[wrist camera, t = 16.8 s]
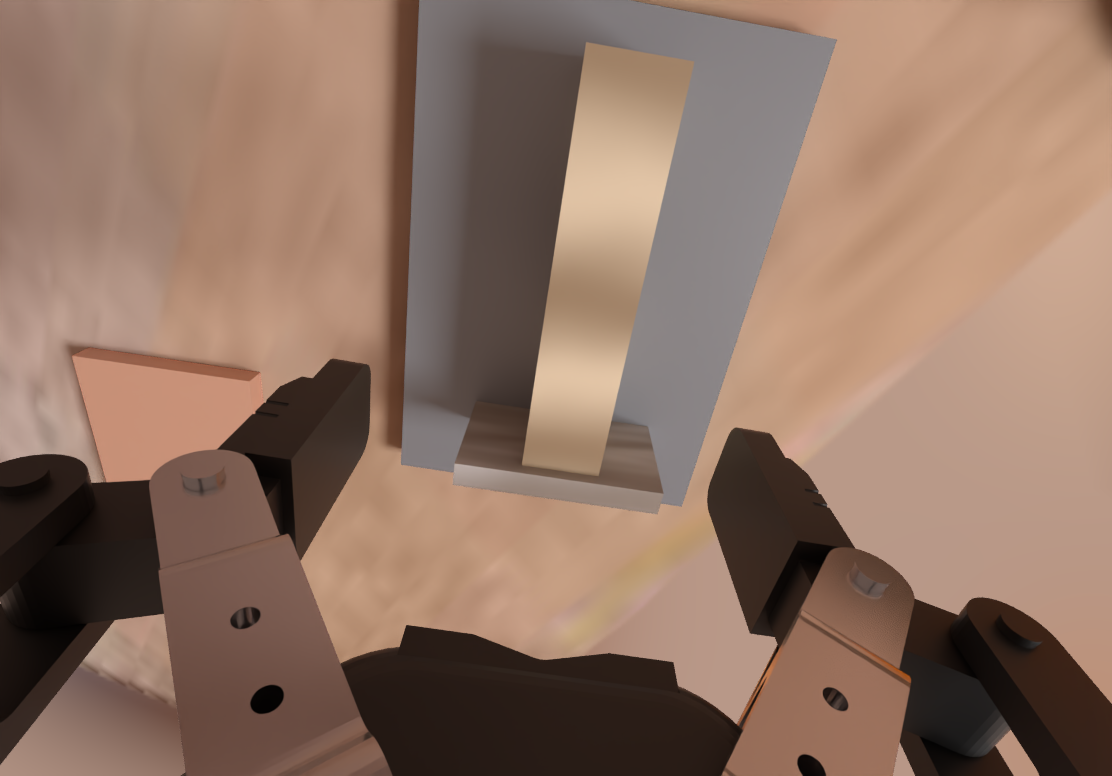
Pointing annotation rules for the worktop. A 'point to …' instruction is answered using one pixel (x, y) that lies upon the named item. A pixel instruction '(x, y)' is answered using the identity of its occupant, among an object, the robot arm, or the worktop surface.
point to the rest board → (536, 196)
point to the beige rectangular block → (591, 299)
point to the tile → (160, 408)
